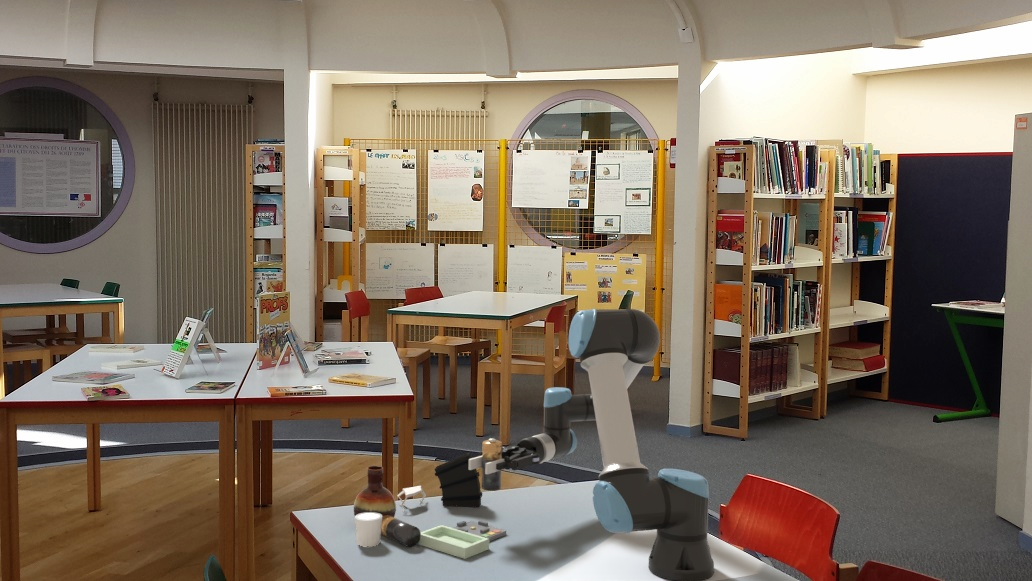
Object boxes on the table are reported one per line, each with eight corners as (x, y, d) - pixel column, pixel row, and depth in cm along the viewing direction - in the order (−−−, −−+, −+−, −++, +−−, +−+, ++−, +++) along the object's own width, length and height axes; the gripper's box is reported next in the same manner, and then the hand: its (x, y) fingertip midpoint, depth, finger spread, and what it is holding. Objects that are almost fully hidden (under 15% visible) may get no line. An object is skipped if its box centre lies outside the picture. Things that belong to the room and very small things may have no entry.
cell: (505, 488, 239) (505, 439, 238) (489, 491, 236) (490, 442, 235) (492, 483, 243) (493, 435, 242) (477, 487, 240) (478, 438, 239)
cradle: (506, 534, 240) (506, 527, 240) (483, 543, 233) (483, 536, 233) (471, 524, 248) (471, 517, 248) (448, 532, 241) (448, 526, 241)
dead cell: (420, 544, 232) (420, 525, 231) (404, 549, 228) (404, 529, 228) (391, 531, 241) (391, 512, 241) (375, 535, 238) (375, 516, 237)
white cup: (366, 550, 227) (366, 522, 227) (348, 543, 232) (349, 515, 231) (388, 543, 232) (388, 516, 232) (370, 536, 237) (370, 509, 236)
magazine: (490, 503, 261) (468, 454, 261) (449, 520, 263) (427, 472, 263) (492, 499, 265) (471, 451, 265) (451, 516, 267) (430, 469, 267)
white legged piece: (398, 500, 268) (398, 484, 268) (427, 501, 268) (427, 485, 267) (391, 513, 256) (391, 496, 256) (421, 514, 256) (421, 497, 255)
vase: (358, 517, 252) (358, 461, 251) (398, 518, 251) (399, 462, 250) (349, 531, 241) (349, 472, 240) (392, 532, 240) (392, 474, 239)
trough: (489, 549, 229) (489, 538, 229) (464, 558, 222) (465, 548, 222) (441, 534, 239) (441, 524, 239) (416, 543, 232) (417, 533, 232)
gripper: (561, 469, 247) (504, 488, 230) (509, 457, 259) (451, 474, 241) (561, 442, 247) (505, 458, 229) (509, 431, 258) (452, 446, 240)
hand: (478, 466), depth 235 cm, fingers closed on cell, 5 cm apart
